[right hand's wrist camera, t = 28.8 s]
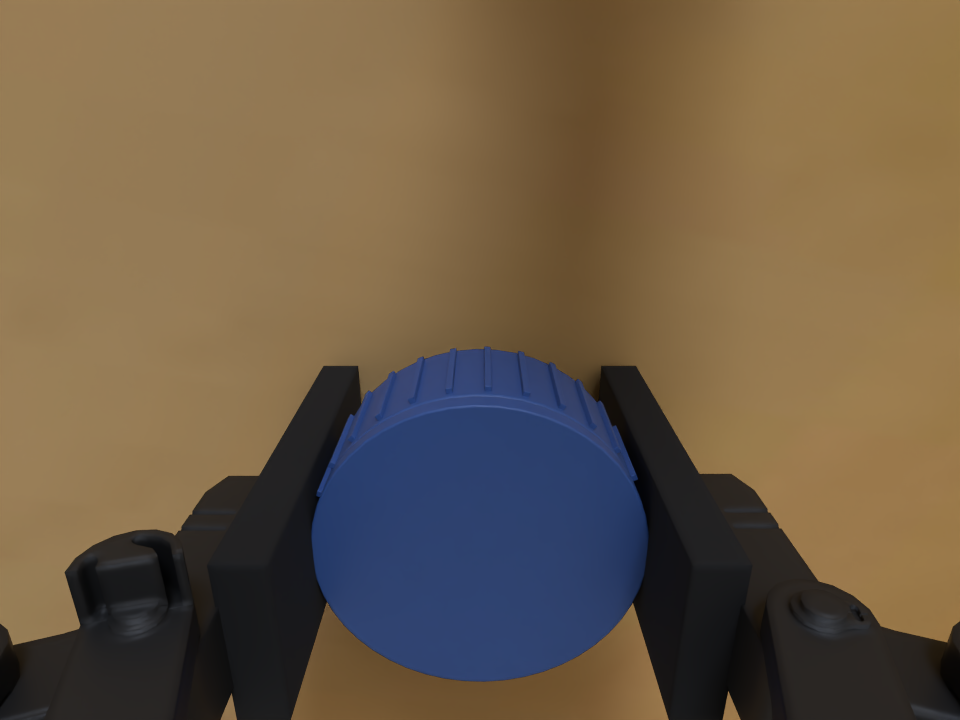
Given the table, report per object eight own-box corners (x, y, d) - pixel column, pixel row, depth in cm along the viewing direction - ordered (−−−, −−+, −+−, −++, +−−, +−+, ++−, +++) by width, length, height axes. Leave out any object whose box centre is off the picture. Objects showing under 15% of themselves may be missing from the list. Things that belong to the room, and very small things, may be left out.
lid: (333, 580, 13) (305, 673, 11) (338, 329, 11) (304, 383, 9) (598, 602, 14) (619, 696, 11) (650, 358, 12) (688, 419, 9)
